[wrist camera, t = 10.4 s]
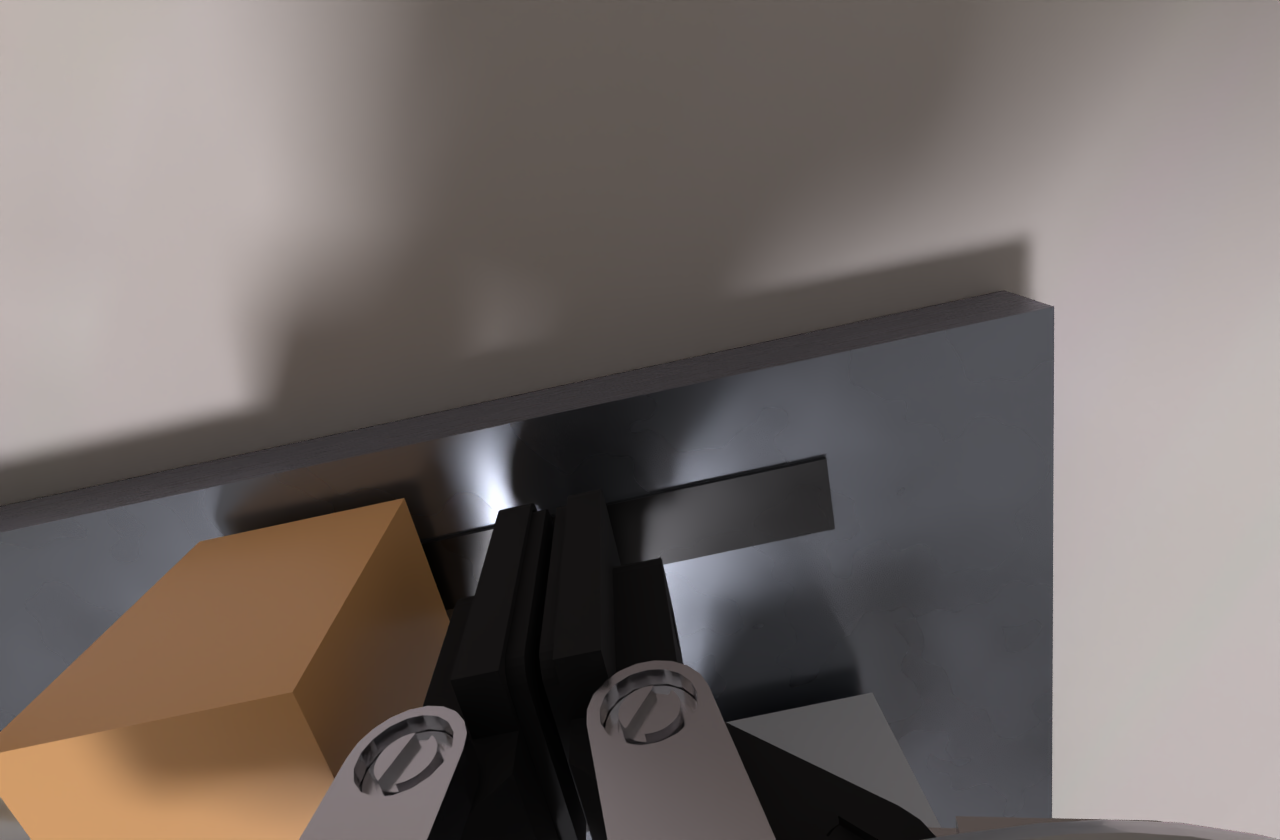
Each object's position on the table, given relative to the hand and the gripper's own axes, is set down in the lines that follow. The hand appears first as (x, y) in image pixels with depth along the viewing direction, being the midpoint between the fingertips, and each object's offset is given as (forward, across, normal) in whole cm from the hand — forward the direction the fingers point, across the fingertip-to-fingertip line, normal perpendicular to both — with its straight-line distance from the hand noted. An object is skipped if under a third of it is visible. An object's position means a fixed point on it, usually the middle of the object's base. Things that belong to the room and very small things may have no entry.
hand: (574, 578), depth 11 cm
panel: (+3, +2, +6) cm, 7 cm away
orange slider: (+1, +4, 0) cm, 4 cm away
